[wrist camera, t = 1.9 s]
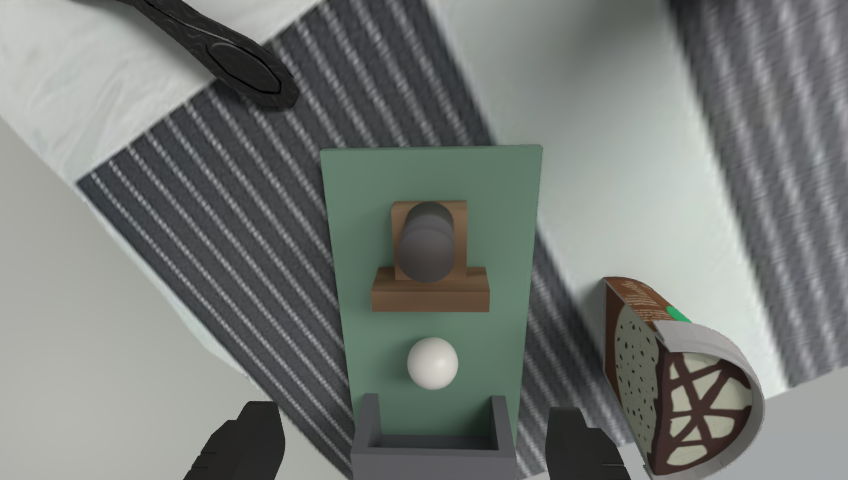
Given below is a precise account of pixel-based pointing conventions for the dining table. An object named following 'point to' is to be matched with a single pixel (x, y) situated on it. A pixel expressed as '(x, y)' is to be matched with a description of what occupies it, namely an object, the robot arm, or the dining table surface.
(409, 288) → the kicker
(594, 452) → the robot arm
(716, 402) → the food container
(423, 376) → the ball
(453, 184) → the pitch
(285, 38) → the dining table surface
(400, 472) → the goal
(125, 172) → the dining table surface
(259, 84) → the hairbrush
